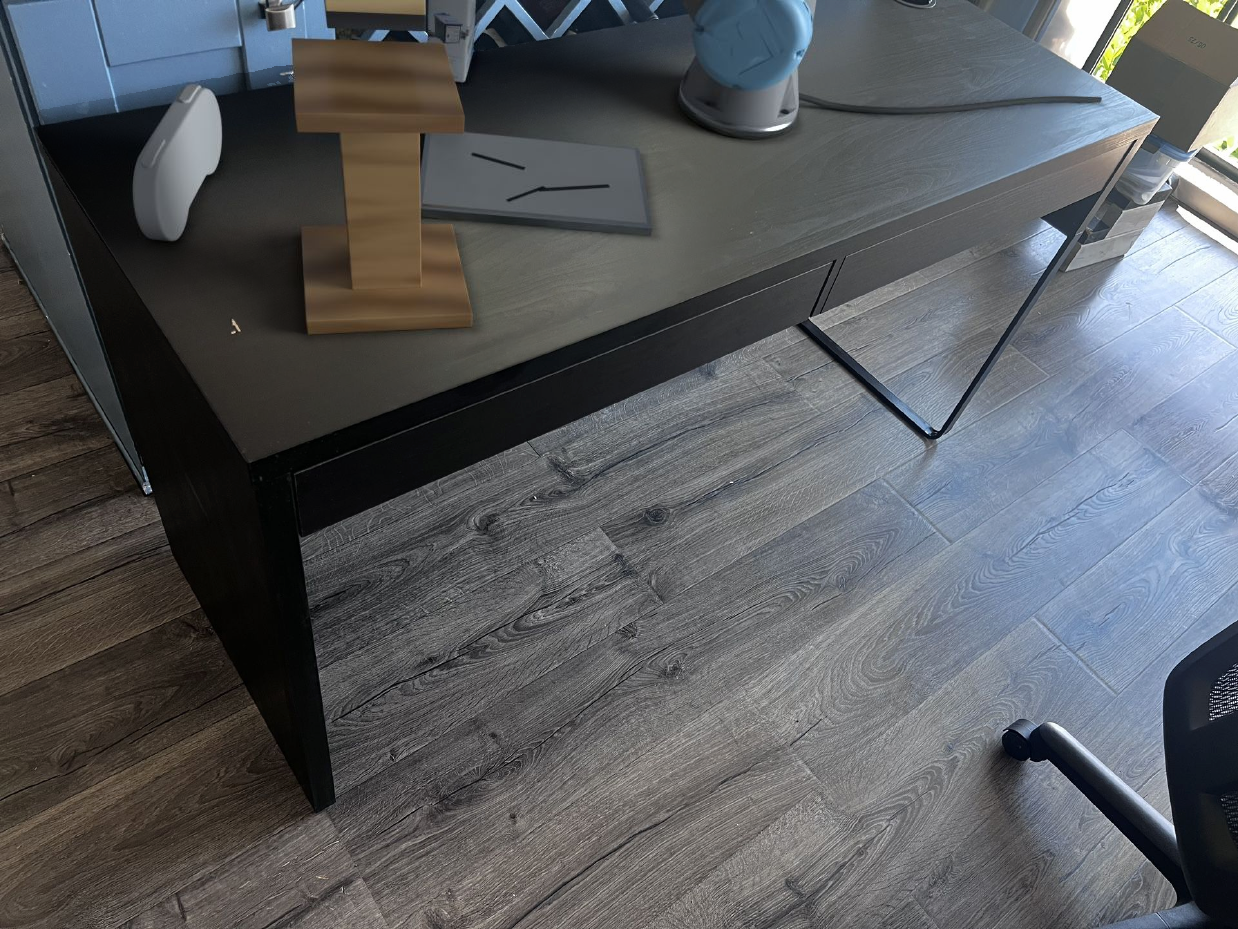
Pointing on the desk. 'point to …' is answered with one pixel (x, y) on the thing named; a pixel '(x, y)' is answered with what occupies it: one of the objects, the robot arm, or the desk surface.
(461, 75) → the ink box
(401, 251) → the shelf stand
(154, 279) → the desk surface
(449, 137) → the whiteboard
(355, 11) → the eraser
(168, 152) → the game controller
